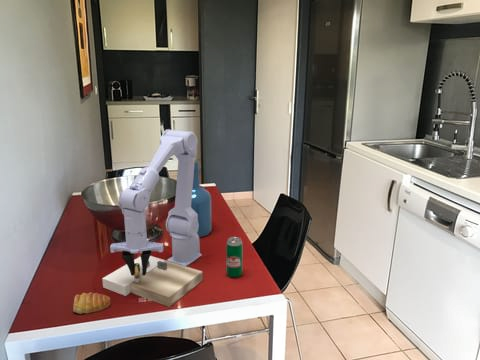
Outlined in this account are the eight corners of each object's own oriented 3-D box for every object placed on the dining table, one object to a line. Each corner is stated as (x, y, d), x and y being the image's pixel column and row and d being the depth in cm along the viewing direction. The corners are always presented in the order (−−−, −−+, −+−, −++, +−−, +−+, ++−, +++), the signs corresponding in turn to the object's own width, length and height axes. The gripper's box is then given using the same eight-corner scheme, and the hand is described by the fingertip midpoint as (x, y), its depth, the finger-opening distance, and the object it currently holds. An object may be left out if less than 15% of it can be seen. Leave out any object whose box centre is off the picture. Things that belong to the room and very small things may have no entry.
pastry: (111, 298, 112) (110, 286, 111) (109, 312, 106) (108, 299, 105) (76, 302, 110) (74, 290, 109) (72, 317, 104) (70, 304, 103)
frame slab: (144, 262, 132) (144, 254, 132) (166, 268, 128) (165, 260, 127) (103, 287, 117) (102, 278, 116) (125, 295, 113) (124, 286, 112)
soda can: (225, 277, 123) (224, 242, 120) (227, 269, 128) (227, 235, 125) (241, 279, 122) (241, 243, 119) (243, 271, 127) (243, 236, 124)
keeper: (159, 266, 123) (159, 260, 123) (167, 269, 122) (166, 263, 121) (157, 268, 123) (157, 262, 122) (165, 270, 121) (164, 264, 121)
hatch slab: (166, 269, 128) (166, 260, 127) (202, 280, 122) (202, 271, 121) (131, 292, 115) (130, 283, 114) (169, 306, 108) (168, 297, 107)
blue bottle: (208, 240, 150) (207, 163, 141) (174, 238, 151) (171, 161, 142) (214, 225, 163) (214, 154, 154) (183, 224, 164) (180, 153, 156)
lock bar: (142, 263, 125) (141, 248, 123) (150, 263, 125) (149, 248, 123) (132, 282, 114) (131, 266, 113) (140, 282, 114) (139, 266, 113)
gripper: (105, 236, 107) (109, 281, 110) (159, 236, 107) (161, 280, 111) (112, 226, 113) (116, 268, 117) (163, 226, 114) (165, 268, 118)
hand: (138, 273), depth 114 cm, fingers open, 3 cm apart
